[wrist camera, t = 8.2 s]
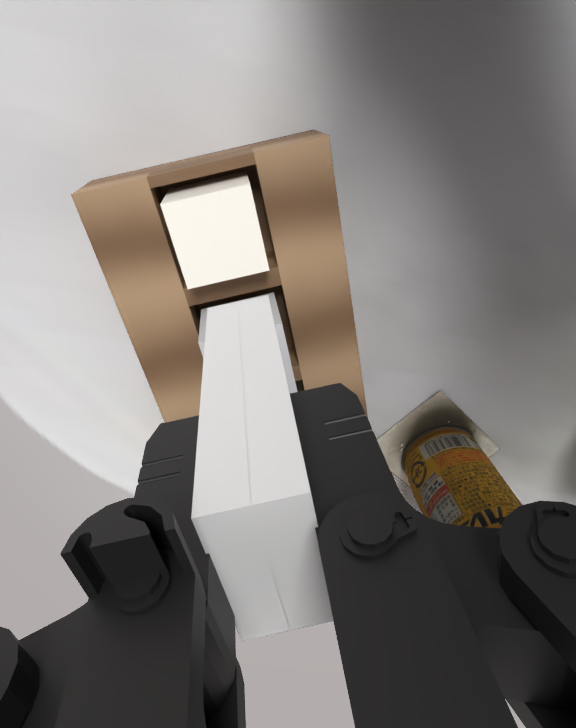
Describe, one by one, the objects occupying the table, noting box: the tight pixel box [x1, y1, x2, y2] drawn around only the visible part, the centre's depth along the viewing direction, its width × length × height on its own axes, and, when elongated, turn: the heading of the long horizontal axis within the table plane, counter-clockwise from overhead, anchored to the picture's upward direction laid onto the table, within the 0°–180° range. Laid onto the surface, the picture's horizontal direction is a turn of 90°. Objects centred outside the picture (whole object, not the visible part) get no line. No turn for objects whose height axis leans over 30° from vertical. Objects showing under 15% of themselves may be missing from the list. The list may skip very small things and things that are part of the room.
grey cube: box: [198, 292, 297, 393], centre depth 25 cm, size 4×4×4 cm
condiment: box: [377, 391, 522, 528], centre depth 32 cm, size 7×8×12 cm
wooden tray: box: [71, 130, 368, 423], centre depth 28 cm, size 18×12×4 cm, turn 11°
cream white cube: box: [160, 171, 269, 289], centre depth 24 cm, size 4×4×4 cm
